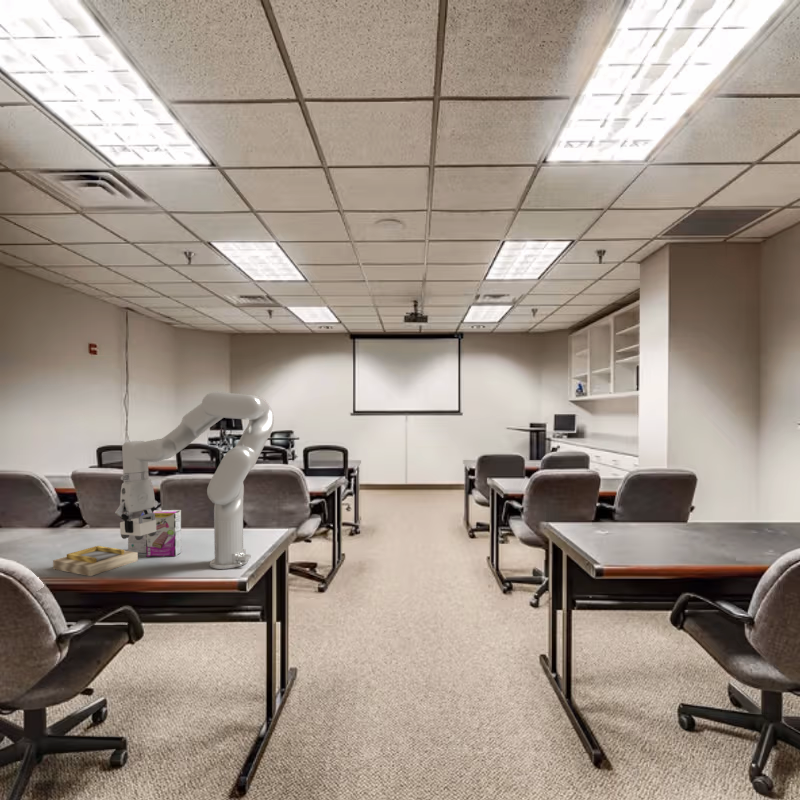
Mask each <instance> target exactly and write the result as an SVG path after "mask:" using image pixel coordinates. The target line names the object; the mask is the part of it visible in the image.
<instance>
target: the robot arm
mask: <svg viewBox="0 0 800 800" xmlns="http://www.w3.org/2000/svg"><path fill="white" fill-rule="evenodd" d="M224 418H225V419H234V420H236V419H237V420H246V421H248V420H249V421H248V424H247V426H246V428H245V429H244V431H243V433H242V435H241V437H240V438H239V441H238V442H237V444H236V445H235V446H234V447H233V448H230V449H229V450H228V451H227V452H226V453H225V455H224V456H223V458H222V459H221V461H220V463H219V464H218V466H217V468H216V470H215V472H214V474H213V476H212V477H211V479H210V481H209V483H208V486H207V489H206V490H207V491H206V493H207V497H208V499H209V501H211V502H212V504H214V509H213V513H214V514H213V520H214V521H213V525H214V526H213V527H214V528H213V529H214V530H213V532H214V533H213V534H214V542H213V543H214V544H213V545H214V558H213V559H211V560H210V562H209V566H210V568H212V569H216V570H225V569H227V570H228V569H234V568H238V567H242V566H243V565H246V564H247V563H248V562H249V560H250V559H251V558H252V555H251V554H249V553H246V550H247V549H244V497H245V496H244V494H245V486H244V481H245V480H246V477H247V476H248V474H249V472H251V470H253V468H254V467H255V465H256V463H257V461H258V459H259V456H260V455H261V453H262V451H263V449H264V448H265V445H266V443H267V441H268V439H269V437H270V436H271V433H272V432H273V431H272V430H273V427H274V421H275V420H274V412H273V410H272V408H271V406H270V404H269V403H268V402H267V401H266V400H265V399H264V398H263V397H261V396H259V395H256V394H255V395H254V394H244V393H233V392H231V393H230V392H223V391H211V392H209V393H207V394H206V395H205V396H204V397H203V399H202V401H201V403H200V404H198V405H197V406H196V407H194V408H193V409H191V410H190V411H189V412H186V414H185V415H184V416H183V417H182V419H181V422H180V424H179V425H178V426H176V427H175V428H174V429H173V430H172V431H170V432H169V433H168V434H166V435H165V436H163V437H161V438H157V439H152V440H146V441H144V440H134V441H133V440H131V441H126V442H124V443H122V446H121V447H122V453H121V454H122V470H123V471H122V473H123V475H121V476H120V480H121V481H123V482H122V484H121V489H120V497H119V499H120V500H119V501H120V502H119V506H118V508H117V509H116V510H115V512H114V514H115V515H116V516H118V518H120V519H121V520H122V522H124V521H125V532H126V533H133V521H131V520H132V519H133V514H134V513H138V512H141V511H142V513H144V515H146V514H150V513H153V511H154V510H156V508H157V507H158V506H159V502H158V501H157V500H156V499H155V492H154V491H155V490H154V486H153V481H152V479H149V463H152V462H153V463H157V462H158V463H159V462H162V461H164V460H168V459H171V458H172V457H174V456H175V455H177V454H178V453H180V452H181V451H182V450H184V449H185V448H186V447H188V446H189V445H191V443H192V442H193V441H195V440H196V439H198V438H199V437H200V436H201V435H202V434H203V433H205V432H206V431H208V429H210V428H212V426H214V425H216V423H218V422H219V421H221V420H222V419H224ZM143 519H151V516H150V517H146V518H143Z"/></svg>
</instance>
